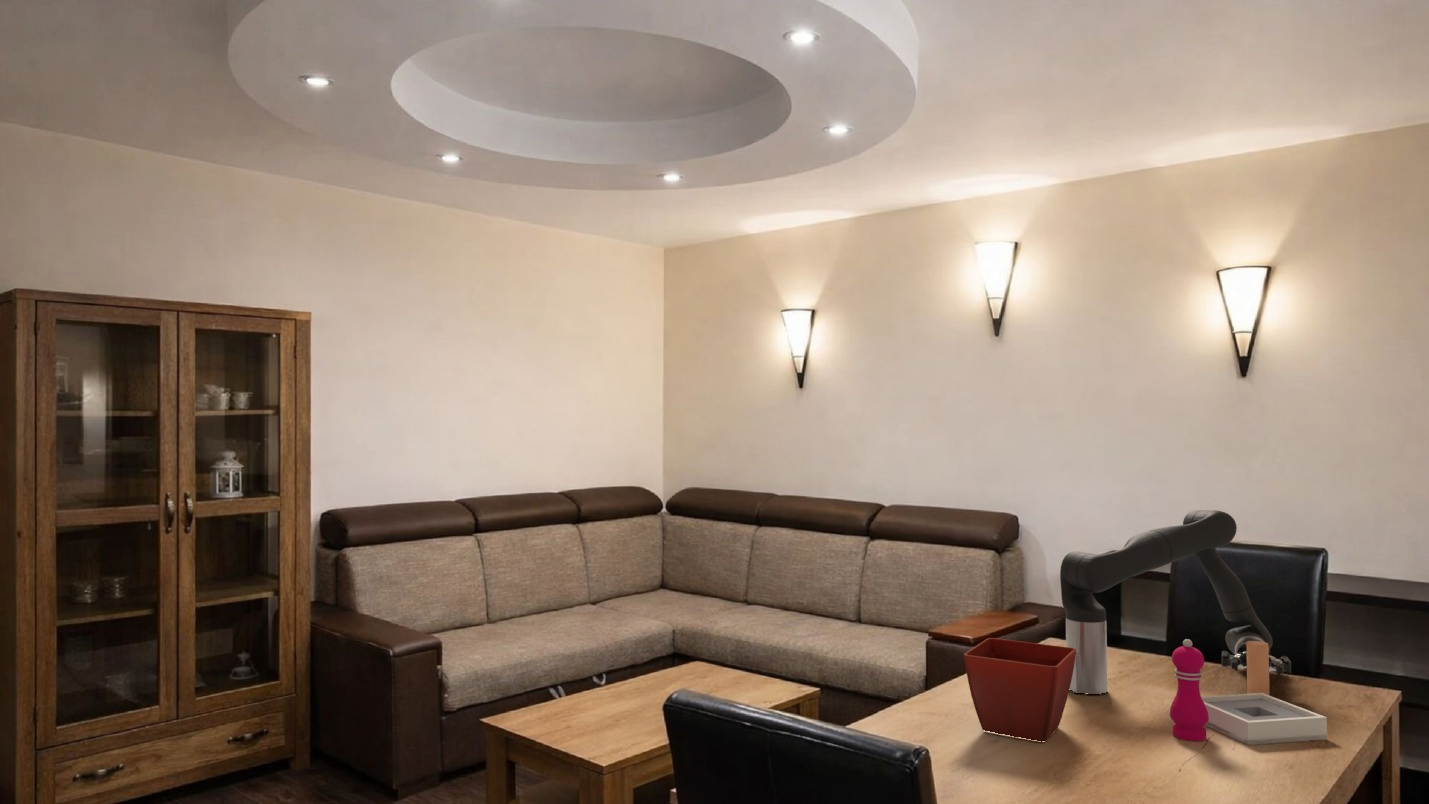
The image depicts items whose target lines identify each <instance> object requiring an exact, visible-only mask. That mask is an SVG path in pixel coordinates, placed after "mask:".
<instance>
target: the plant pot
mask: <svg viewBox="0 0 1429 804" xmlns="http://www.w3.org/2000/svg"><path fill="white" fill-rule="evenodd" d="M1075 656H1076V649H1075V648H1069V647H1066V646H1060V645H1051V644H1045V643H1044V644H1042V643H1036V642H1028V641H1020V640H1012V639H1004V638H995V637H989V638H986V639H984V640H983V641H982V642H980V643H978V644H977V645H976V646H974V647H972V648H970V649H969V650H968V651H966V652H964V654H963V658H964V659H963V660H964V666H965V670H966V671H965V672H966V676H967V681H968V687H969V692H970V695H971V699H972V703H973V706H974V708H975V712H976V715H977V719H978V722H979V724H980V726H981V729H983V730H985V731H990V732H995V733H998V734H1005V735H1010V736H1014V737H1021V738H1026V739H1031V740H1037V741H1041V742H1042V741H1046V740H1047V739H1048V738H1049V739H1050V738H1051V736H1052V735H1053V734H1054V733H1055V732H1056V731H1057V729H1058V728H1059V725H1060V724H1061V720H1062V717H1063V714H1064V712H1065V708H1066V704H1067V702H1068V701H1067V700H1068V696H1069V692H1070V690H1069V689H1070V685H1071V680H1072V675H1073V669H1074V664H1075ZM983 730H982V731H983ZM1055 730H1056V731H1055ZM1054 731H1055V732H1054ZM1053 732H1054V733H1053ZM1049 739H1048V740H1049ZM1048 740H1047V741H1048ZM1047 741H1046V742H1047Z"/></svg>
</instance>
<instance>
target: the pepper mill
mask: <svg viewBox="0 0 1429 804" xmlns="http://www.w3.org/2000/svg"><path fill="white" fill-rule="evenodd" d="M1182 645H1183V646H1179V647H1177V648H1176V649H1175V650H1173V651H1172V655H1171V661H1172V663H1173V665H1174V666H1175V667H1176V668H1175V669H1174V672H1175V673H1174V676H1175V678H1176V679H1177V690H1176V693H1175V696H1174V698H1173V700H1172V702H1171V705H1170V708H1169V717H1170V719H1171V720H1172V721H1173V722H1174V724H1173V725H1172V735H1173V736H1174V737H1175V738H1177V739H1179V740H1184V741H1189V742H1203V741H1206V740H1207V729H1206V728H1205V727H1206V724H1207V722H1208V720H1209V716H1208V711H1207V708H1206V706H1205V704H1204V702H1203V700H1202V698H1201V696H1202V695H1201V691H1200V680H1202V679H1203V676H1202V674H1203V673H1202V671H1201V670H1202V668H1203V667H1204V666H1205V657H1204V655H1203V653H1202V652H1201V651H1200V650H1199V649H1198V648H1196V647H1193V642H1192V640H1191V639H1189V638H1188V639H1187V638H1185V639H1184V640H1183V641H1182Z"/></svg>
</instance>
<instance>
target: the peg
mask: <svg viewBox="0 0 1429 804" xmlns="http://www.w3.org/2000/svg"><path fill="white" fill-rule="evenodd" d="M1246 649H1247V671H1246V679H1247V680H1246V681H1247V683H1246V684H1247V687H1246V688H1247V690H1246V691H1247V693H1246V694H1250V693H1264V694H1267V695H1269V696H1271V695H1270V671H1269V650H1270V649H1269V650H1268V643H1265V642H1261V641H1247V642H1246Z"/></svg>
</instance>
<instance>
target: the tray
mask: <svg viewBox="0 0 1429 804" xmlns="http://www.w3.org/2000/svg"><path fill="white" fill-rule="evenodd" d="M1269 695H1270V694H1269ZM1269 695H1267V694H1264V693H1250V694H1247V693H1238V694H1218V695H1205V696H1202V695H1201V698H1202V700H1203V702H1204V704H1205V706H1206V708H1207V711H1208V716H1209V720H1208V722H1207V724H1206V725H1205V727H1209V728H1210V729H1213V730H1215V731H1217V732H1219V733H1221V734H1223V735H1225V736H1228V737H1230V738H1232V739H1234V740H1237V741H1238V742H1241V743H1243V744H1245V745H1247V746H1255V745H1257V746H1258V745H1267V744H1268V745H1269V744H1284V743H1296V742H1297V743H1298V741H1299V742H1309V741H1310V740H1313V741H1324V740H1328V722H1327V721H1328V717H1327V716H1324V715H1322V714H1319V713H1316V712H1313V711H1311V710H1309V709H1306V708H1303V707H1300V706H1298V705H1295V704H1293V703H1290V702H1287V701H1285V700H1281V699H1280V698H1277V697H1274V696H1272V695H1270V696H1269Z"/></svg>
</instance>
